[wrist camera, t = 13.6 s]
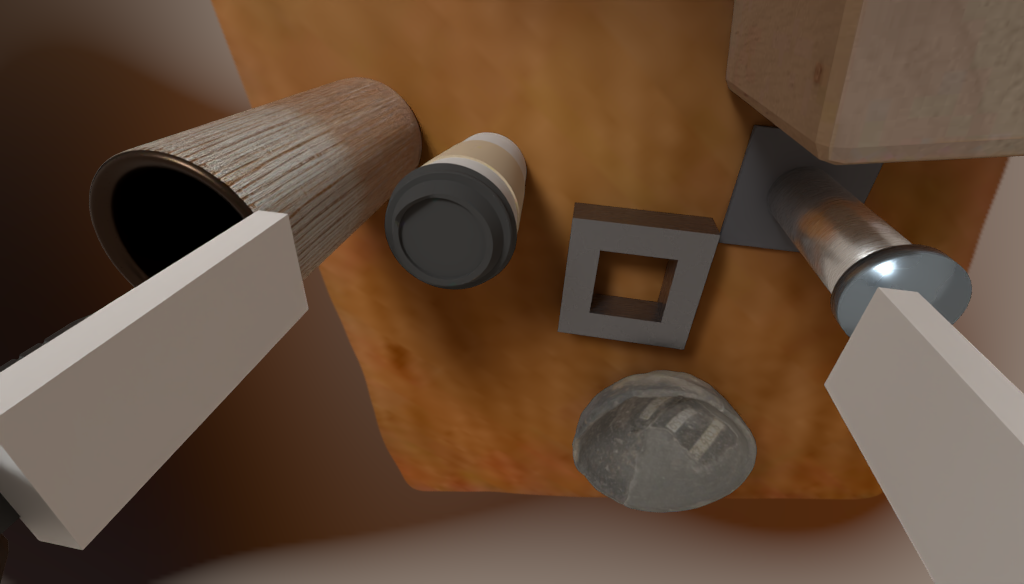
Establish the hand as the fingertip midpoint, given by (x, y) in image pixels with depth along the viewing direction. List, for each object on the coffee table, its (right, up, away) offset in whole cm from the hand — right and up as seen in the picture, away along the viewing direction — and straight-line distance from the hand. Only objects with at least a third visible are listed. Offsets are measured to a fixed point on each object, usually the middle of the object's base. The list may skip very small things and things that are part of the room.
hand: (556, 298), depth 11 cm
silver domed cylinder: (+22, +8, +28) cm, 37 cm away
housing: (+10, +2, +34) cm, 36 cm away
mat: (+23, +8, +28) cm, 37 cm away
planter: (-14, +14, +32) cm, 38 cm away
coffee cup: (-3, +11, +32) cm, 34 cm away
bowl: (+15, -13, +43) cm, 47 cm away
